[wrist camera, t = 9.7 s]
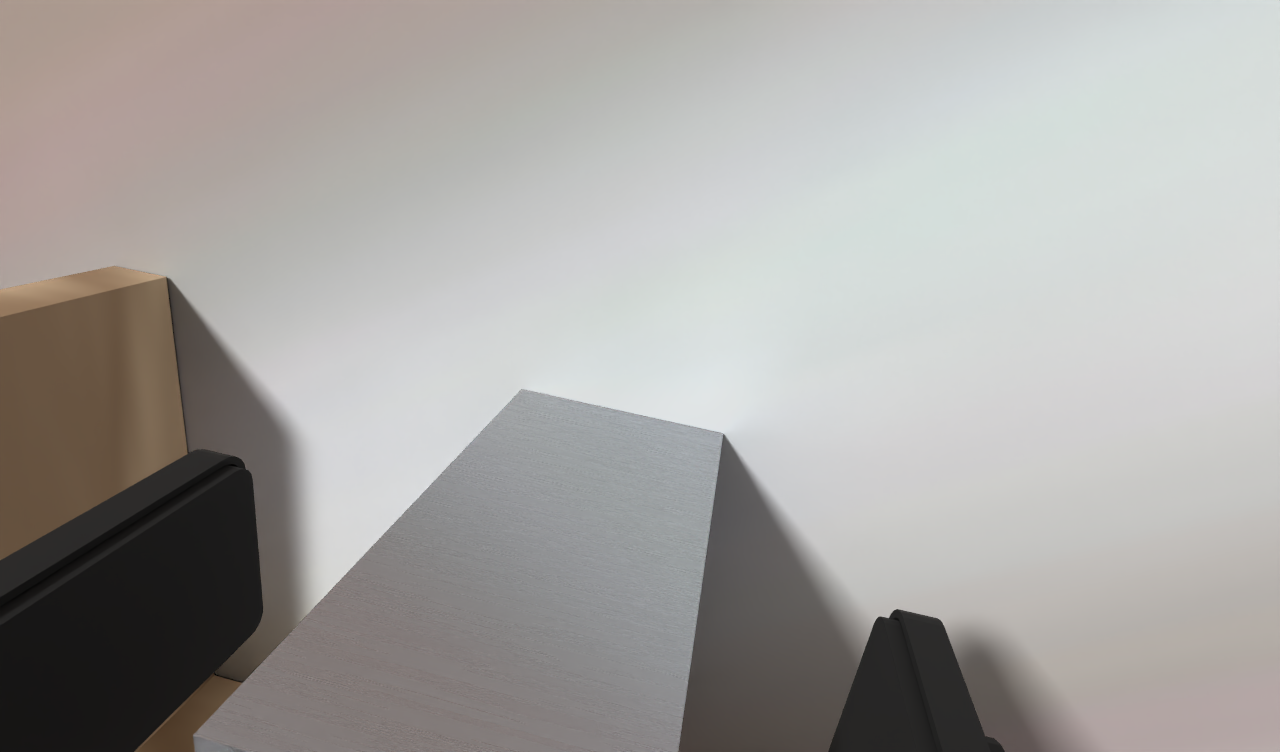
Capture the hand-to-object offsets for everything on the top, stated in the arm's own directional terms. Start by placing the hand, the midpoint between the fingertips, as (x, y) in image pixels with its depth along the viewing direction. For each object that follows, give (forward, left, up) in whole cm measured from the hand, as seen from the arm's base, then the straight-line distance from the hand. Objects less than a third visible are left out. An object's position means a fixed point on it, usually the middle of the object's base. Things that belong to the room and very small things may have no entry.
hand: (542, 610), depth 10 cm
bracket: (0, -2, -4) cm, 5 cm away
